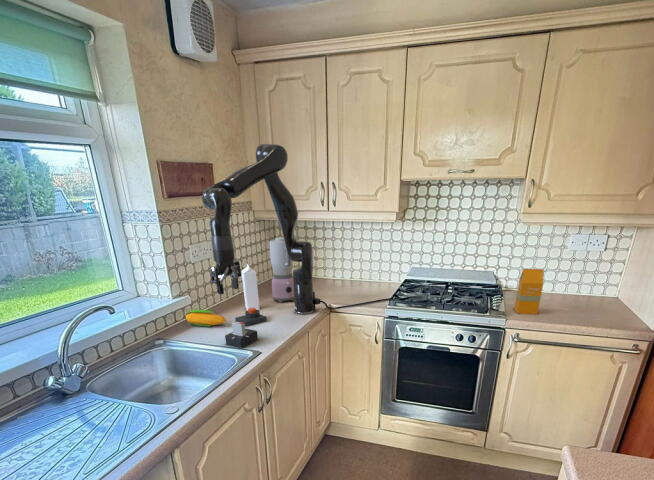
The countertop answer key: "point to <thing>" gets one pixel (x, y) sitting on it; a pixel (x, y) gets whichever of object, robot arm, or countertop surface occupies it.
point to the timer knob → (239, 328)
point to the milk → (250, 288)
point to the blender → (281, 271)
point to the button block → (251, 318)
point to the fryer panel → (241, 338)
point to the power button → (252, 310)
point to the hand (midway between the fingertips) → (228, 291)
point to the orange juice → (529, 291)
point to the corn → (204, 318)
